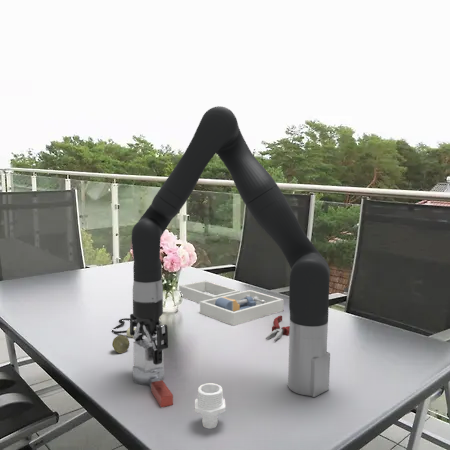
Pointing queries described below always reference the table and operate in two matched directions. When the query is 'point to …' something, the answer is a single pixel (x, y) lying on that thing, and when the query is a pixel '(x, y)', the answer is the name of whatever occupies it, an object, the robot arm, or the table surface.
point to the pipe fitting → (210, 404)
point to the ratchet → (154, 385)
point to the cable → (128, 328)
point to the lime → (120, 343)
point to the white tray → (243, 315)
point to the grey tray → (197, 290)
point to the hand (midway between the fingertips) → (148, 358)
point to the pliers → (278, 329)
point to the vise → (237, 303)
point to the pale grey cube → (145, 356)
